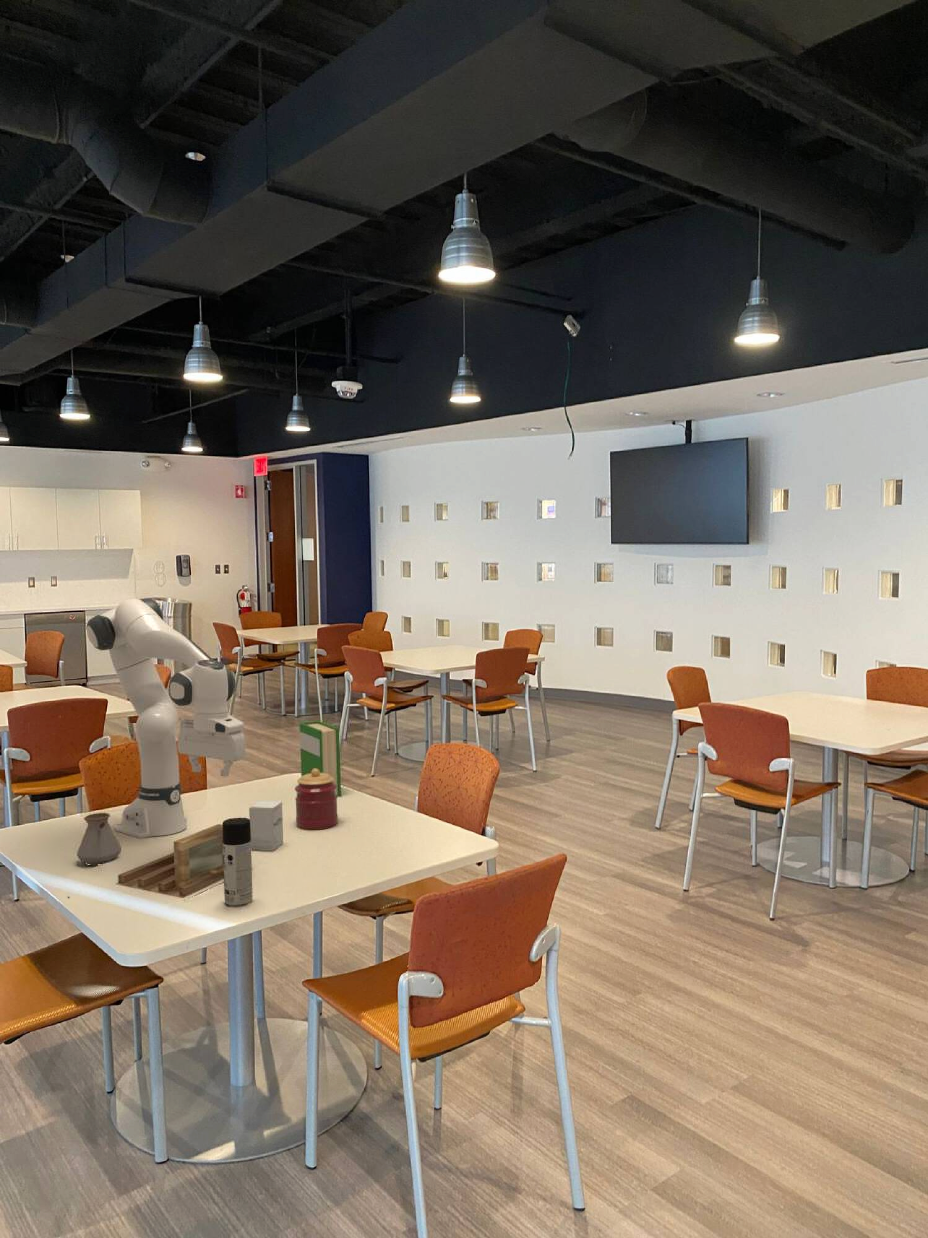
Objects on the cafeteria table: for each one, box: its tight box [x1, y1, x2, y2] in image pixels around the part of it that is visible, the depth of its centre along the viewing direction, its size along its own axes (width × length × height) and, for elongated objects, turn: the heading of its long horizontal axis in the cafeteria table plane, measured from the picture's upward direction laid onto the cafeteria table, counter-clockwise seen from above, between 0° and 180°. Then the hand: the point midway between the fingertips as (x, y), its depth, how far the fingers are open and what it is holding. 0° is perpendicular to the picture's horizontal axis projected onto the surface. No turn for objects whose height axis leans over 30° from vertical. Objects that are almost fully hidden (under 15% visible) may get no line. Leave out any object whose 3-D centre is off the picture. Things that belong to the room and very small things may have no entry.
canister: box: [294, 768, 339, 831], centre depth 284 cm, size 13×13×18 cm
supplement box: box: [248, 800, 284, 852], centre depth 263 cm, size 7×7×13 cm
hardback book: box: [299, 720, 342, 798], centre depth 322 cm, size 18×7×24 cm, turn 32°
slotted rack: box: [115, 852, 224, 902], centre depth 238 cm, size 23×24×4 cm
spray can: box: [222, 817, 253, 907], centre depth 221 cm, size 7×7×20 cm
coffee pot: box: [76, 812, 122, 865], centre depth 249 cm, size 21×12×15 cm, turn 27°
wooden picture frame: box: [173, 823, 224, 889], centre depth 235 cm, size 3×16×12 cm, turn 153°
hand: (210, 773), depth 242 cm, fingers open, 8 cm apart
